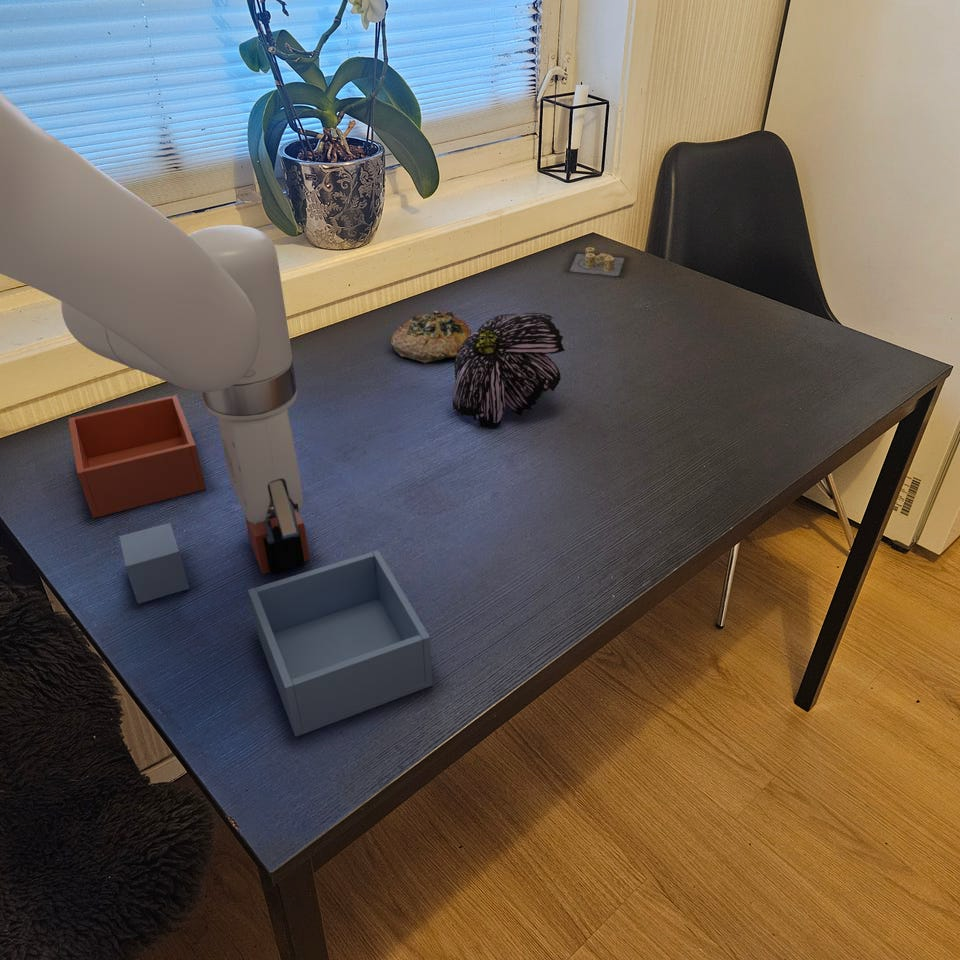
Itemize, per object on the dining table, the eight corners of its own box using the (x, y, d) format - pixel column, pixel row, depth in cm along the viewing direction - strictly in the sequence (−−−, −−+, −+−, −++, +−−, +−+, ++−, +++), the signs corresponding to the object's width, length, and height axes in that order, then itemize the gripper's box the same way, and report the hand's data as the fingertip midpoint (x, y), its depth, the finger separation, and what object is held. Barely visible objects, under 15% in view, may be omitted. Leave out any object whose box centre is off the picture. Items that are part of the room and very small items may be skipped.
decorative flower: (418, 313, 99) (536, 270, 99) (442, 376, 109) (550, 337, 109) (447, 400, 91) (576, 352, 91) (471, 460, 100) (588, 417, 100)
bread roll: (444, 318, 120) (445, 288, 117) (488, 357, 114) (490, 326, 110) (377, 341, 115) (375, 310, 112) (419, 383, 109) (419, 352, 105)
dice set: (612, 272, 135) (613, 260, 134) (581, 268, 136) (581, 257, 135) (616, 260, 139) (617, 249, 138) (585, 257, 140) (586, 246, 139)
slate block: (137, 604, 74) (125, 566, 71) (131, 573, 77) (118, 536, 74) (189, 588, 75) (179, 551, 73) (181, 559, 79) (170, 522, 76)
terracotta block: (262, 574, 77) (254, 536, 74) (251, 545, 80) (243, 508, 77) (310, 560, 78) (304, 522, 76) (296, 532, 82) (290, 496, 79)
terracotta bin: (93, 518, 84) (77, 473, 80) (82, 461, 92) (68, 418, 88) (206, 489, 88) (195, 444, 84) (187, 436, 96) (176, 394, 92)
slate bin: (295, 737, 62) (284, 688, 59) (258, 637, 71) (247, 589, 67) (432, 685, 66) (430, 636, 63) (383, 597, 74) (378, 549, 71)
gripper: (183, 349, 73) (221, 512, 84) (225, 445, 61) (262, 622, 72) (268, 332, 76) (294, 493, 87) (324, 421, 64) (346, 595, 74)
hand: (279, 549), depth 79 cm, fingers closed on terracotta block, 4 cm apart
